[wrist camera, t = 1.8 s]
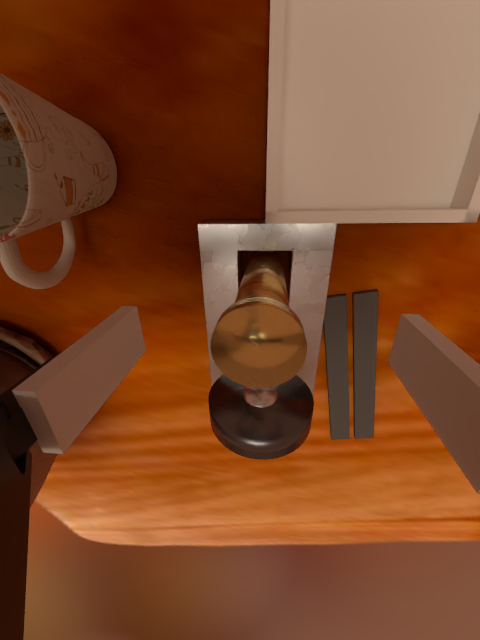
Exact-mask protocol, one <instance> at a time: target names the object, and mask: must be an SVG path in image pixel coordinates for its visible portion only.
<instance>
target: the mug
mask: <svg viewBox="0 0 480 640" xmlns="http://www.w3.org/2000/svg"><path fill="white" fill-rule="evenodd" d="M116 184H117V167H116V163H115V159H114V156H113V154H112V151H111V150H110V148H109V146H108V144H107V143H106V141H105V140H104V139H103V137H102V136H101V135H100V134H99V133H98V132H97V131H96V130H94V129H93V128H92V127H90V126H89V125H88V124H86V123H84V122H83V121H81V120H79V119H78V118H76V117H74V116H72V115H71V114H69V113H67V112H66V111H64V110H62V109H60V108H59V107H57V106H55V105H54V104H52V103H50V102H49V101H47V100H45V99H43V98H42V97H40V96H38V95H37V94H35V93H33V92H31V91H30V90H28V89H26V88H25V87H23V86H21V85H20V84H18V83H16V82H14V81H13V80H11V79H9V78H8V77H6V76H4V75H2V74H1V73H0V262H1V264H2V266H3V268H4V270H5V272H6V273H7V275H8V276H9V277H10V278H11V279H13V280H14V281H16V282H18V283H20V284H21V285H24V286H26V287H29V288H34V289H45V288H50V287H52V286H55V285H56V284H58V283H59V282H60V281H62V279H63V278H64V277H65V276H66V275H67V273H68V272H69V270H70V268H71V265H72V262H73V258H74V254H75V249H76V239H75V233H74V229H73V225H72V221H71V218H70V217H73V216H76V215H78V214H81V213H84V212H86V211H89V210H92V209H94V208H97V207H99V206H101V205H103V204H105V203H106V202H107V201H108V200H109V199H110V198H111V196H112V195H113V193H114V191H115V188H116ZM60 221H61V224H62V231H63V237H64V244H63V250H62V254H61V256H60V259H59V260H58V262H57V263H56V265H55V266H54V267H53V268H52V269H50V270H48V271H46V272H38V271H35V270H33V269H31V268H29V267H28V266H27V265H26V264H25V263H24V262H23V260H22V258H21V256H20V253H19V249H18V245H17V241H16V238H17V237H20V236H22V235H25V234H28V233H30V232H33V231H36V230H38V229H41V228H44V227H46V226H49V225H52V224H54V223H57V222H60Z"/></svg>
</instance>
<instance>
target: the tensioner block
mask: <svg viewBox="0 0 480 640" xmlns="http://www.w3.org/2000/svg"><path fill="white" fill-rule="evenodd" d="M336 226H337V223H316V224H265V220H211V221H203V222H201V223H199V224H198V235H199V246H200V258H201V269H202V281H203V292H204V304H205V315H206V327H207V339H208V350H209V362H210V373H211V385H212V387H211V390H210V393H209V411H210V421H211V426H212V429H213V432H214V434H215V436H216V437H217V439H218V440H219V441H220V442H221V443H222V444H223V445H224V446H225V447H226V448H228V449H229V450H231V451H233V452H234V453H236V454H239V455H241V456H244V457H248V458H253V459H274V458H278V457H282V456H285V455H287V454H289V453H291V452H293V451H294V450H296V449H297V448H299V447H300V446H301V445H302V444H303V442H304V441H305V440H306V438H307V436H308V434H309V431H310V428H311V421H312V414H313V406H314V401H313V392H314V385H315V378H316V371H317V363H318V356H319V349H320V342H321V334H322V327H323V320H324V313H325V305H326V298H327V291H328V284H329V276H330V269H331V262H332V255H333V248H334V240H335V233H336ZM241 250H262V251H290V264H289V279H288V292H287V295H288V302H289V308H291V309H292V310H293V311H294V312H295V313H296V314H297V316H298V317H299V319H300V321H301V323H302V325H303V328H304V332H305V337H306V341H307V356H306V359H305V362H304V364H303V366H302V368H301V369H300V371H299V372H298V373H297V374H296V375H295V376H294V377H293V378H291V379H290V380H288V381H287V382H285V383H282V384H280V385H277V386H274V387H268V388H253V387H248V386H244V385H241V384H239V383H236V382H234V381H233V380H231V379H229V378H228V377H227V376H225V375H224V374H223V373H222V372H221V371H220V370H219V368H218V367H217V365H216V364H215V362H214V360H213V357H212V354H211V337H212V334H213V331H214V329H215V326H216V324H217V322H218V320H219V317H220V316H221V315H222V313H223V312H224V311H225V310H226V309H227V308H228V307H229V306H231V305H232V304H234V303H235V300H236V297H237V294H238V291H239V288H240V285H241Z"/></svg>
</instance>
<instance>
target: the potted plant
mask: <svg viewBox="0 0 480 640" xmlns="http://www.w3.org/2000/svg"><path fill="white" fill-rule="evenodd" d="M51 357H53V356H52V355H51V354H50V353H49V352H47V351H46V350H45V349H43V348H42V347H41V346H40V345H38V344H37V343H36V342H35V340H34V339H31V338H29V337H26V336H24V335H21V334H19V333H17V332H14V331H12V330H9V329H6V328H3V327H0V395H1V394H2V393H4V392H5V391H6V390H8V389H9V388H10V387H12V386H13V385H14V384H16V383H17V382H18V381H20V380H21V379H23V378H24V377H25V376H27V375H28V374H31V372H32V371H33V370H35V369H36V368H37V367H40V365H41V364H43V363H44V362H45V361H47V360H48V359H49V358H51ZM29 450H30V452H31V455H32V470H31V491H30V507H31V505H32V504H33V502H34V500H35V498H36V496H37V495H38V493H39V491H40V489H41V487H42V485H43V483H44V481H45V479H46V477H47V475H48V473H49V471H50V469H51V466H52V464H53V462H54V460H55V458H56V455H57V454H56V453H45V452H43V451H42V449H41V447H40V445H39V443H38V441H36V442H35V443H34V444H33V445H32V446H31V447H30V448H29Z"/></svg>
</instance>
